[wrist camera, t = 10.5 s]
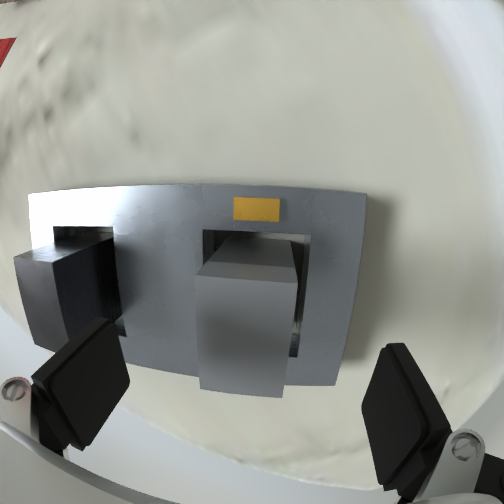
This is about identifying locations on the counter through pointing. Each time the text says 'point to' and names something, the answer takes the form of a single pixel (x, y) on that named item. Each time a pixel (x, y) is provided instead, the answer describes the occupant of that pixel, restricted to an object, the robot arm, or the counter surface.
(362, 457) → the counter surface
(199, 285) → the plug
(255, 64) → the counter surface
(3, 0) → the stone
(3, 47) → the figurine
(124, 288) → the power strip
